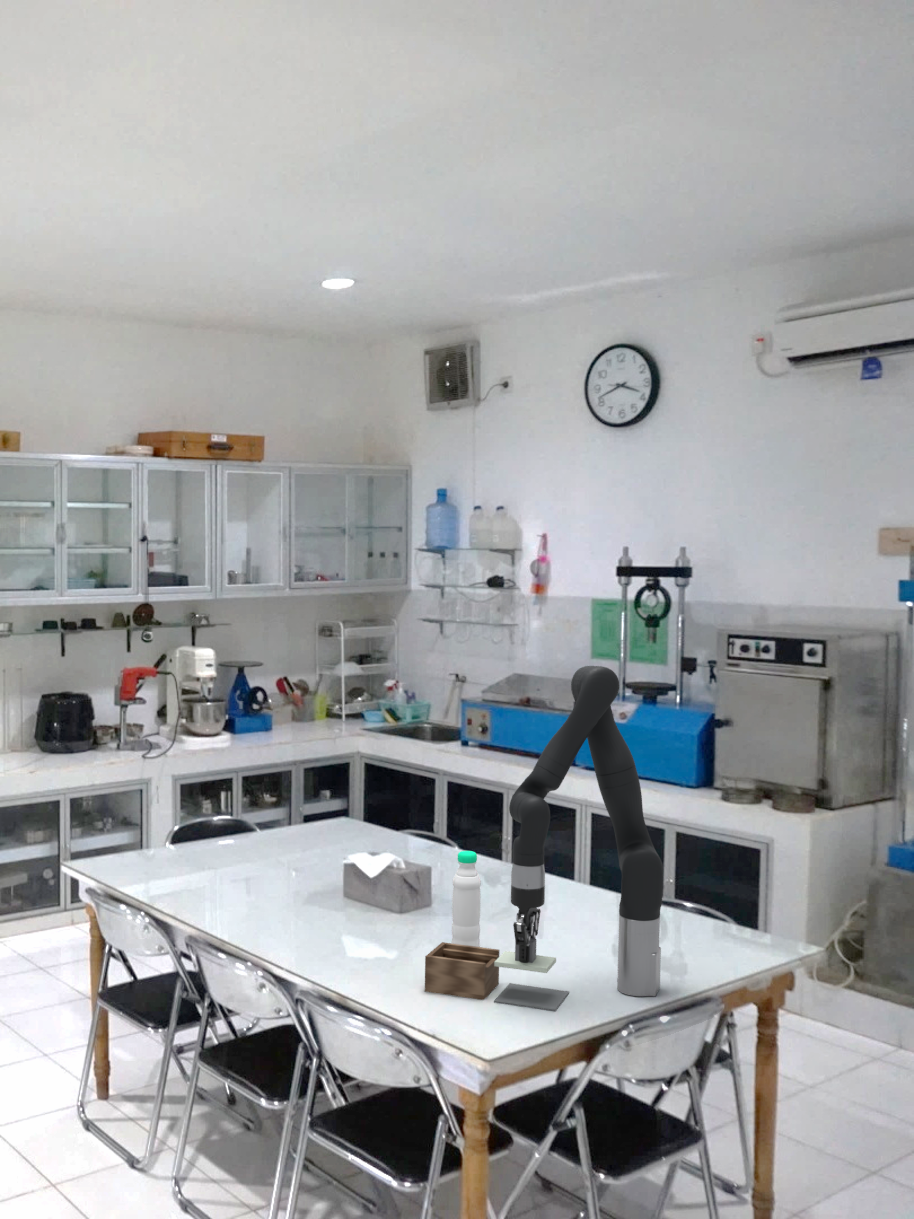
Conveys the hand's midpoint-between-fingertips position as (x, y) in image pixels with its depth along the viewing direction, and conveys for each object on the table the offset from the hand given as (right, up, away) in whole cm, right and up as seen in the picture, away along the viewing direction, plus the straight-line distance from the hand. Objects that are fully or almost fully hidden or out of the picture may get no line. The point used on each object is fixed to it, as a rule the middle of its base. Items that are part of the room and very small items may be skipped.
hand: (526, 959), depth 272 cm
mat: (+1, -9, 0) cm, 9 cm away
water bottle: (-13, -7, +30) cm, 34 cm away
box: (-14, -8, +5) cm, 17 cm away
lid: (0, -1, 0) cm, 1 cm away
